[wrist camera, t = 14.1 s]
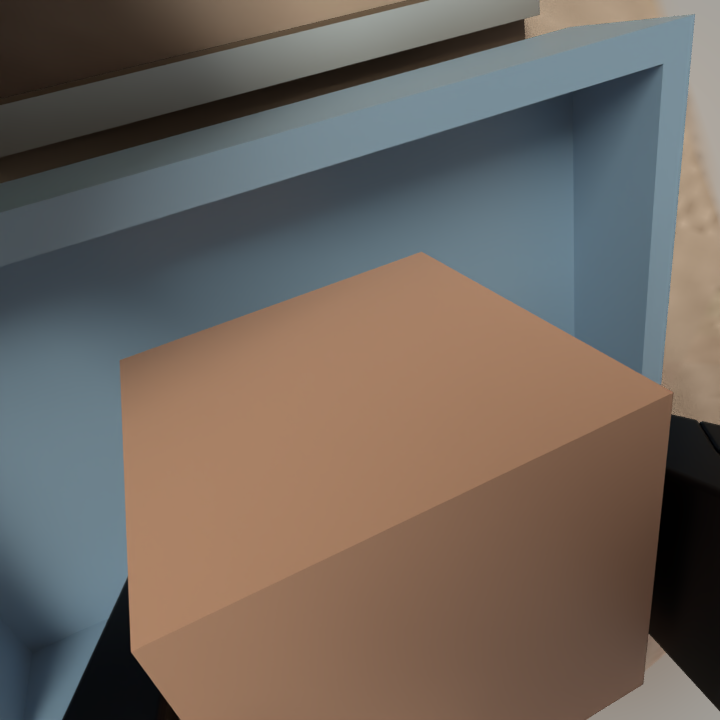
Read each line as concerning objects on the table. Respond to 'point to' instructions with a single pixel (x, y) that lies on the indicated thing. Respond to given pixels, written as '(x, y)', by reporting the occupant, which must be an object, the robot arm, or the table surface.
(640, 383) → the block
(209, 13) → the table surface
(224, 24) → the table surface
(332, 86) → the track
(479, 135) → the cart
